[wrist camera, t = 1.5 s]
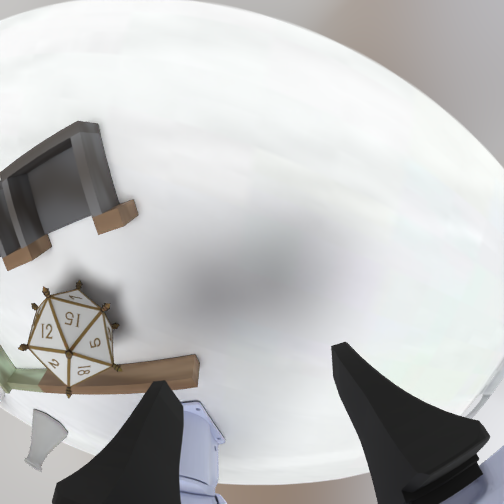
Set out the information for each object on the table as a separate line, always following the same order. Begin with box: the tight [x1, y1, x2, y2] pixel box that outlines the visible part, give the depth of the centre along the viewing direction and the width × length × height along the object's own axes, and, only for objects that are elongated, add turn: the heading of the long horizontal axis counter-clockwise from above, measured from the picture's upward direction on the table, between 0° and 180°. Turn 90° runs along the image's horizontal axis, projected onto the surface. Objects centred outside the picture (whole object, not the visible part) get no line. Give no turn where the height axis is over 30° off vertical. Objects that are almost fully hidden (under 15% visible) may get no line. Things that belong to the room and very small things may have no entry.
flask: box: [24, 410, 68, 472], centre depth 23 cm, size 7×7×10 cm
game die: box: [18, 280, 123, 398], centre depth 17 cm, size 9×8×10 cm
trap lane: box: [0, 121, 200, 394], centre depth 18 cm, size 22×29×4 cm
